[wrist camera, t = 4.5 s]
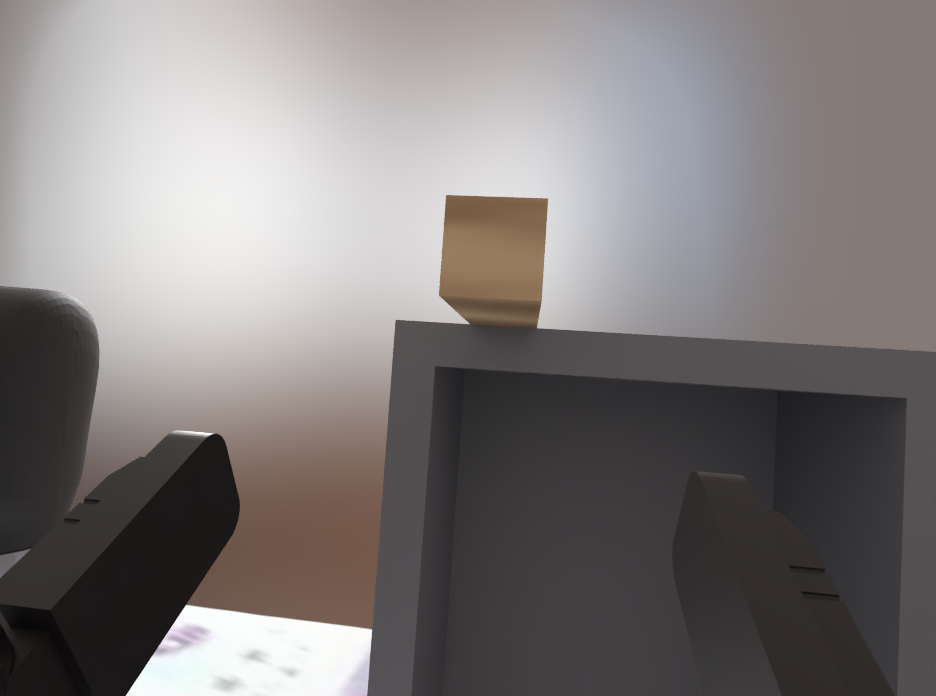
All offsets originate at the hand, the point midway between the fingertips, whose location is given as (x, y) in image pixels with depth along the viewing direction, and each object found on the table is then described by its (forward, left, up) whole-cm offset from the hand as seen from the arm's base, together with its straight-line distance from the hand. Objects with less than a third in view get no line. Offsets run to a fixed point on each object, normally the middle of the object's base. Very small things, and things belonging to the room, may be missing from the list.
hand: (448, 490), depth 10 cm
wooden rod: (+12, +12, +4) cm, 18 cm away
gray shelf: (+21, +11, -28) cm, 36 cm away
